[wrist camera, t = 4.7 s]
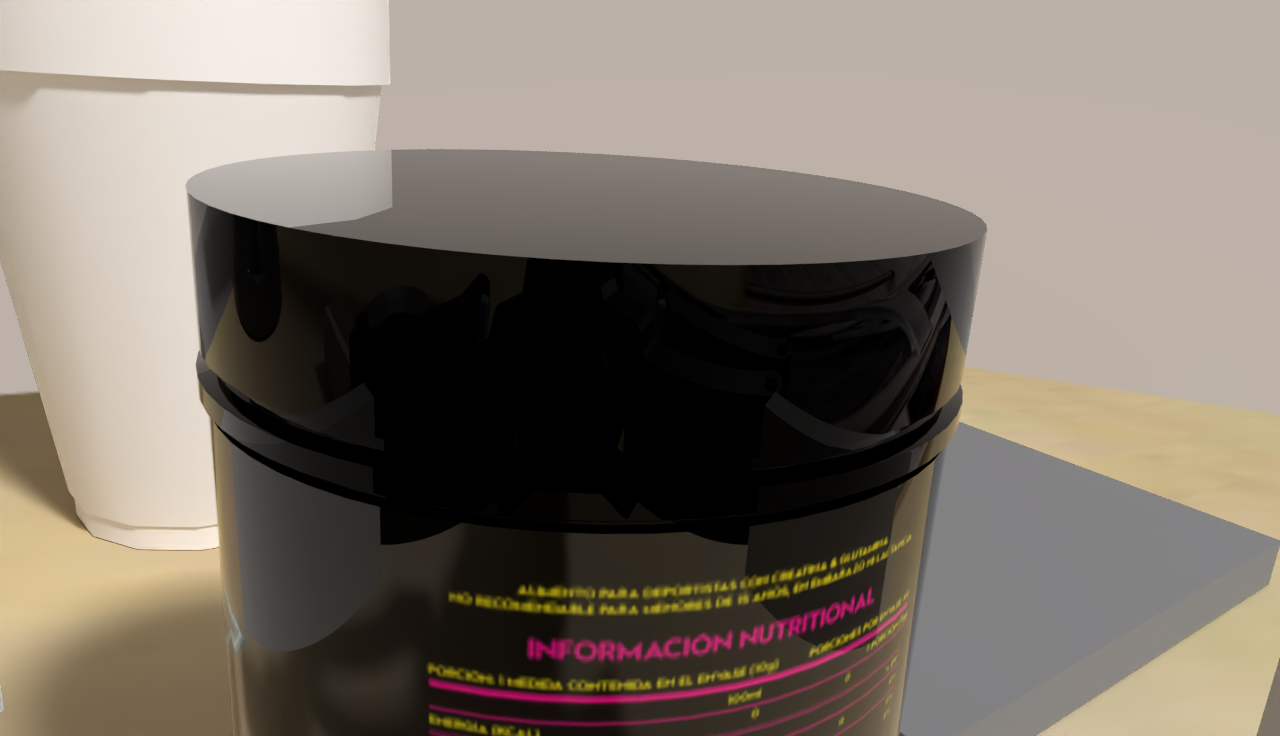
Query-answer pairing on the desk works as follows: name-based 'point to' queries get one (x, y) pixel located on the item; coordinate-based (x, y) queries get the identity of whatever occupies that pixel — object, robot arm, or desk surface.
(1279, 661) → the robot arm
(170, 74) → the foam cup
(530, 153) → the supplement container
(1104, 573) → the mat
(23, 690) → the desk surface
